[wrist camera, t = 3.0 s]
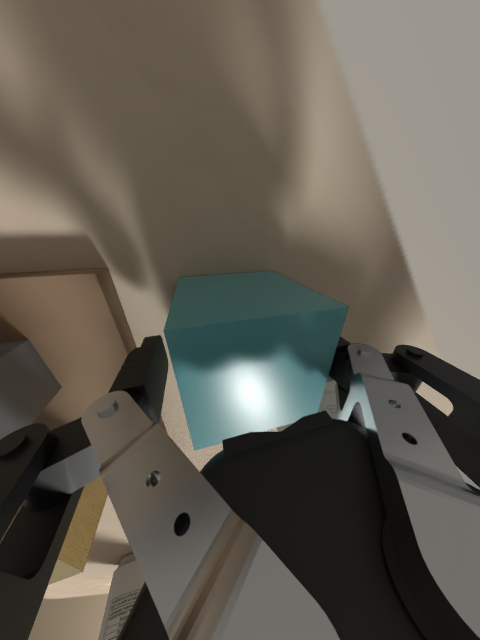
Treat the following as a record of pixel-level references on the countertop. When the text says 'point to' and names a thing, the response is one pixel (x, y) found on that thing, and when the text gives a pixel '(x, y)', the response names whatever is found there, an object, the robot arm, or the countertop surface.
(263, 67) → the countertop surface
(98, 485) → the pale yellow block
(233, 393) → the teal block
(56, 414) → the board
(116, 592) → the energy drink can
